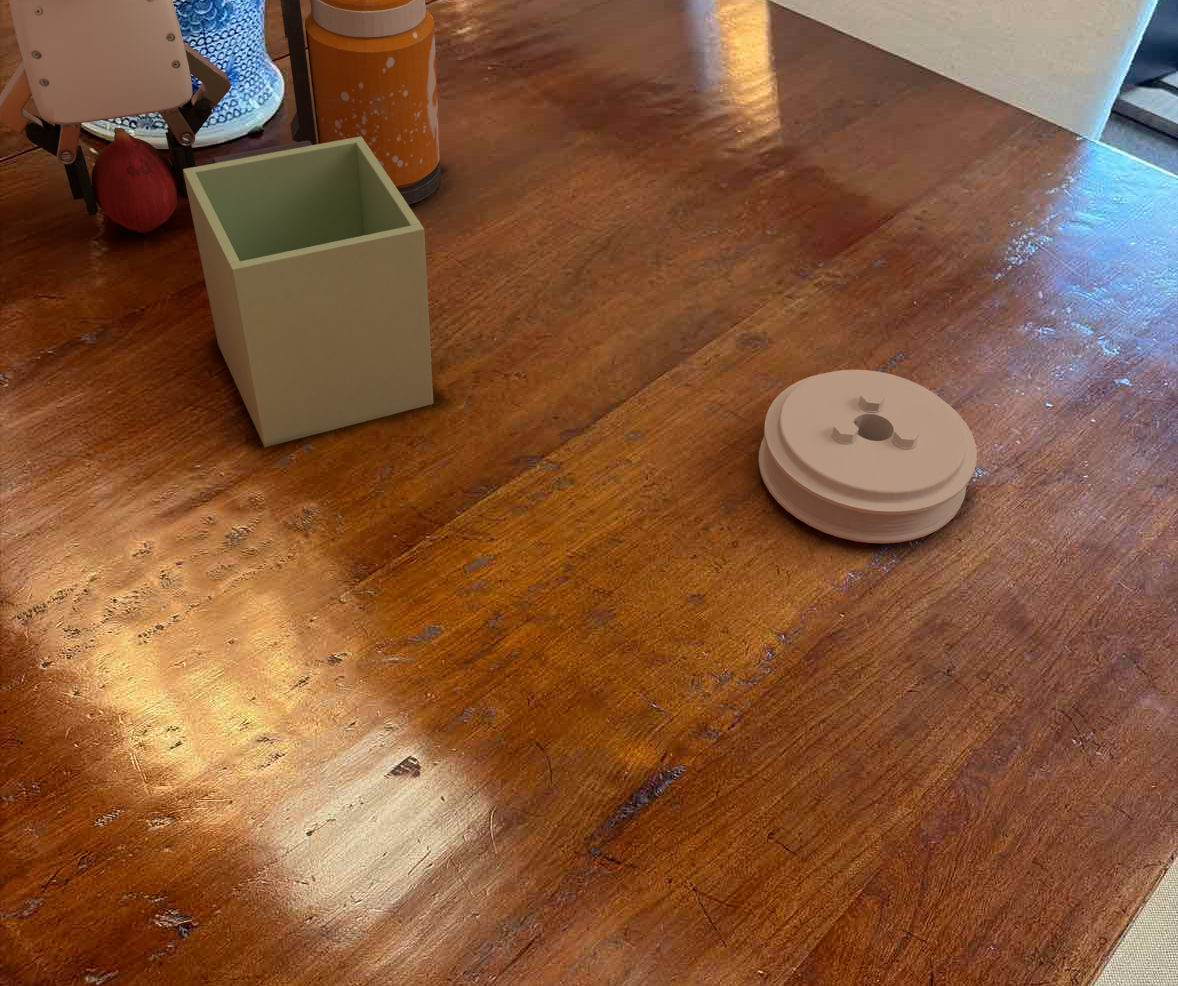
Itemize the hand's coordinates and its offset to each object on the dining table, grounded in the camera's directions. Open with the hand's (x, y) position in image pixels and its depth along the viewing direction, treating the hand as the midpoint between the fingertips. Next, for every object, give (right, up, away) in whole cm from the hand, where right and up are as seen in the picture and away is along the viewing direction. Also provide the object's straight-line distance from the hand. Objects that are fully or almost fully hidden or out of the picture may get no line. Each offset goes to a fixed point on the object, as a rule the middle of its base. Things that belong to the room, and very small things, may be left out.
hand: (137, 195), depth 93 cm
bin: (+18, -14, -16) cm, 27 cm away
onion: (0, -2, +2) cm, 3 cm away
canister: (+15, +3, +8) cm, 17 cm away
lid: (+49, -21, -12) cm, 55 cm away
